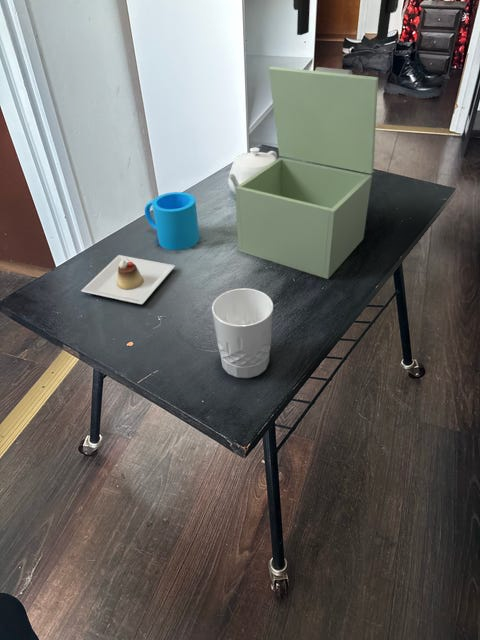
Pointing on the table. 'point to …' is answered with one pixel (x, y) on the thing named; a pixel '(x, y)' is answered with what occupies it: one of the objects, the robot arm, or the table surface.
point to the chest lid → (325, 116)
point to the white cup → (243, 331)
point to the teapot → (249, 166)
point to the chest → (302, 215)
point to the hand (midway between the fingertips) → (340, 36)
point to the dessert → (129, 279)
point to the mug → (174, 220)
